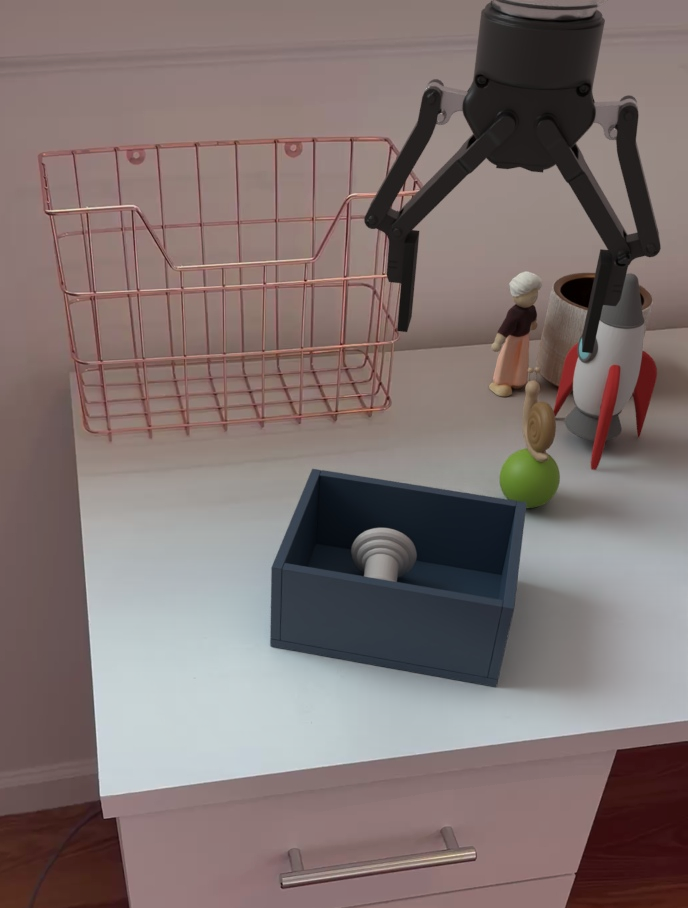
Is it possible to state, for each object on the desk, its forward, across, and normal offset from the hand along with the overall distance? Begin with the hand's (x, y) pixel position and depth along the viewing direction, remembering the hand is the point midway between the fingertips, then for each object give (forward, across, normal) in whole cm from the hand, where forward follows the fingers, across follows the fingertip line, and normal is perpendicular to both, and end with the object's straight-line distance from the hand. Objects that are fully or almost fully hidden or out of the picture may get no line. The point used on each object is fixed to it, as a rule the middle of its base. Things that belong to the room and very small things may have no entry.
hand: (494, 334), depth 77 cm
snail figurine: (+20, +5, +9) cm, 23 cm away
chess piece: (+16, -6, -6) cm, 19 cm away
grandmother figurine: (+20, +2, +31) cm, 37 cm away
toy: (+20, +12, +22) cm, 32 cm away
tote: (+20, -5, -10) cm, 23 cm away
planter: (+20, +10, +36) cm, 43 cm away
